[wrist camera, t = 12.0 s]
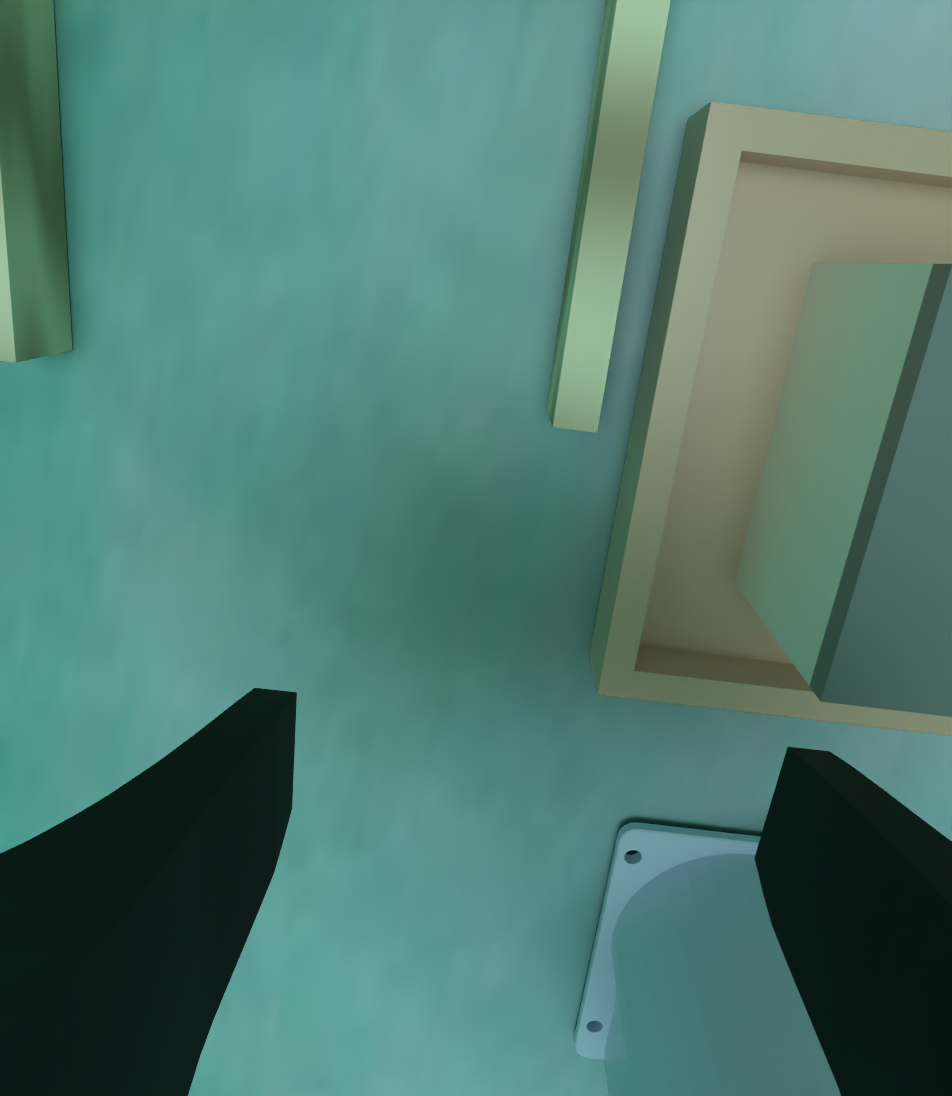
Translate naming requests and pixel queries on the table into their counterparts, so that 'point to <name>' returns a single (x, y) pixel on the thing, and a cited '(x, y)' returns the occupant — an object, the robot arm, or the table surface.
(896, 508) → the grey-green upright block
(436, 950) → the table surface
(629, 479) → the tray
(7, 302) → the bay
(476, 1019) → the table surface
